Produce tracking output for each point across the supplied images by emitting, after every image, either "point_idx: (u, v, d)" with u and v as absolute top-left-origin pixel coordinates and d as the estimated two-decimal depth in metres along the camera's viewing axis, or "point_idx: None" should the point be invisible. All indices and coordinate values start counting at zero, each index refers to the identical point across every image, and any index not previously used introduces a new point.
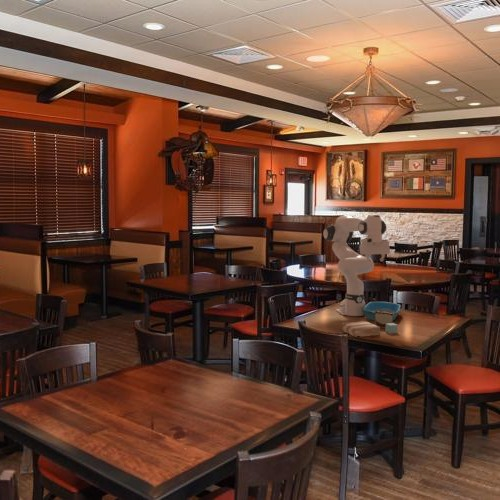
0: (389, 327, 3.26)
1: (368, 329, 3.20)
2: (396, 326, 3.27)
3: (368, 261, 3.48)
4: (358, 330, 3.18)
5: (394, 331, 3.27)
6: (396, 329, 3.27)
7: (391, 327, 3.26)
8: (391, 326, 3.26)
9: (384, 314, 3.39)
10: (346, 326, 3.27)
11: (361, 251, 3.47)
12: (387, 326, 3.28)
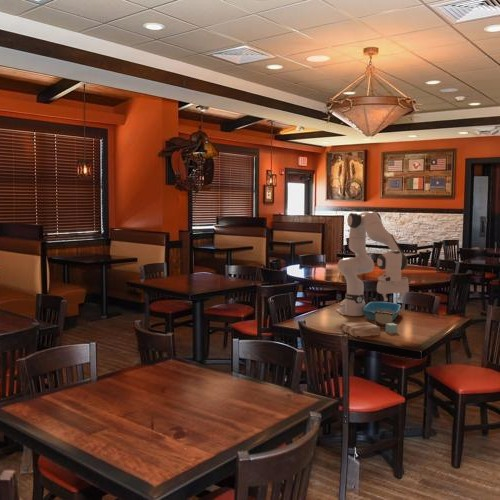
0: (389, 327, 3.26)
1: (368, 329, 3.20)
2: (396, 326, 3.27)
3: (385, 300, 3.24)
4: (358, 330, 3.18)
5: (394, 331, 3.27)
6: (396, 329, 3.27)
7: (391, 327, 3.26)
8: (391, 326, 3.26)
9: (384, 314, 3.39)
10: (346, 326, 3.27)
11: (378, 290, 3.23)
12: (387, 326, 3.28)
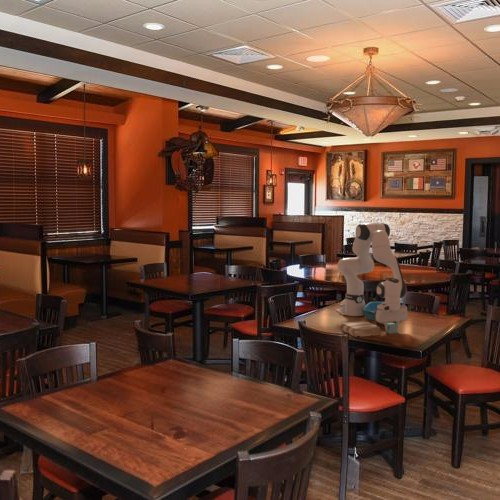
0: (389, 327, 3.26)
1: (368, 329, 3.20)
2: (396, 326, 3.27)
3: None
4: (358, 330, 3.18)
5: (394, 331, 3.27)
6: (396, 329, 3.27)
7: (391, 327, 3.26)
8: (391, 326, 3.26)
9: None
10: (346, 326, 3.27)
11: (377, 318, 3.25)
12: None
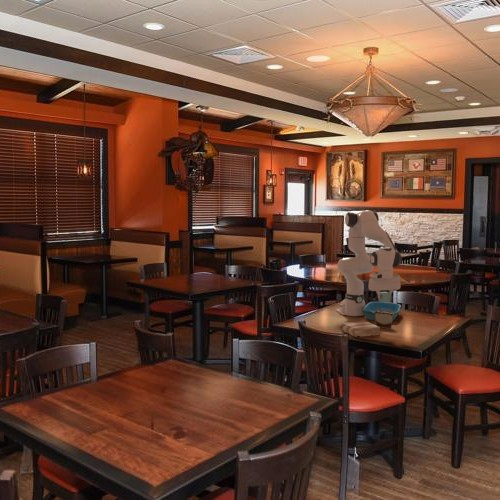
0: (382, 295, 3.24)
1: (368, 329, 3.20)
2: (389, 294, 3.25)
3: (379, 297, 3.25)
4: (358, 330, 3.18)
5: (387, 299, 3.25)
6: (389, 298, 3.25)
7: (384, 296, 3.24)
8: (384, 294, 3.23)
9: (384, 314, 3.39)
10: (346, 326, 3.27)
11: (370, 287, 3.22)
12: None
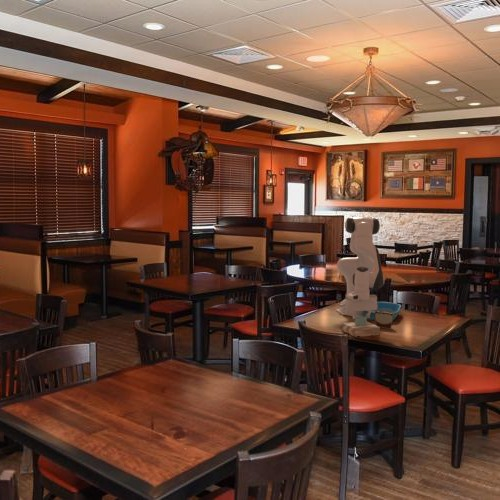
0: (358, 319, 3.25)
1: (368, 329, 3.20)
2: (365, 318, 3.25)
3: (353, 318, 3.25)
4: (358, 330, 3.18)
5: (363, 324, 3.25)
6: (365, 322, 3.25)
7: (360, 320, 3.24)
8: (360, 318, 3.24)
9: (384, 314, 3.39)
10: (346, 326, 3.27)
11: (346, 308, 3.23)
12: (356, 318, 3.27)
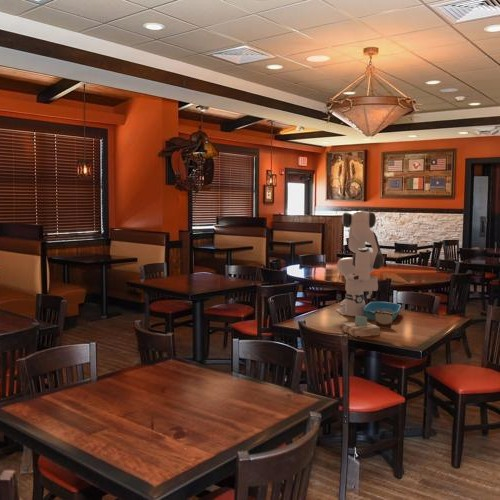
0: (358, 320, 3.25)
1: (368, 329, 3.20)
2: (365, 319, 3.25)
3: (354, 299, 3.23)
4: (358, 330, 3.18)
5: (363, 324, 3.25)
6: (365, 322, 3.25)
7: (360, 320, 3.24)
8: (360, 318, 3.24)
9: (384, 314, 3.39)
10: (346, 326, 3.27)
11: (347, 288, 3.22)
12: (357, 319, 3.27)
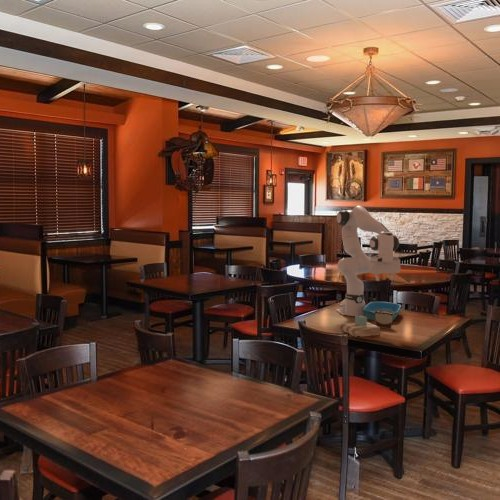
0: (358, 319, 3.25)
1: (368, 329, 3.20)
2: (365, 318, 3.25)
3: (377, 280, 3.37)
4: (358, 330, 3.18)
5: (363, 323, 3.25)
6: (365, 322, 3.26)
7: (360, 320, 3.24)
8: (360, 318, 3.24)
9: (384, 314, 3.39)
10: (346, 326, 3.27)
11: (370, 270, 3.35)
12: (356, 318, 3.27)
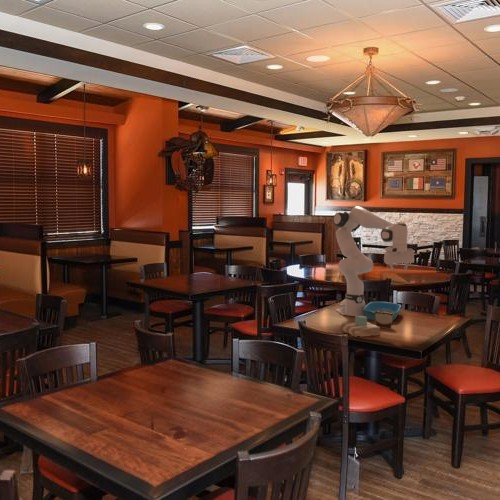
0: (358, 320, 3.25)
1: (368, 329, 3.20)
2: (365, 319, 3.25)
3: (392, 270, 3.45)
4: (358, 330, 3.18)
5: (363, 324, 3.25)
6: (365, 322, 3.25)
7: (360, 320, 3.24)
8: (360, 319, 3.24)
9: (384, 314, 3.39)
10: (346, 326, 3.27)
11: (385, 260, 3.43)
12: (357, 319, 3.27)
